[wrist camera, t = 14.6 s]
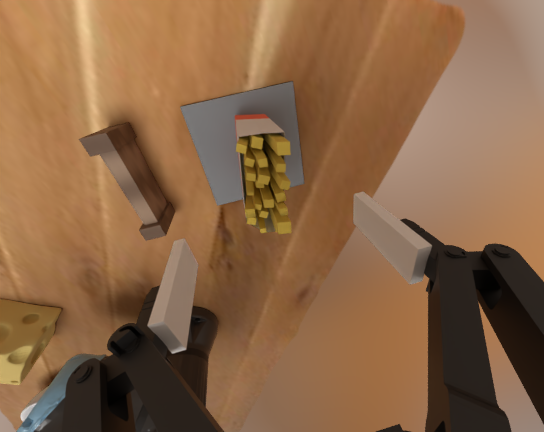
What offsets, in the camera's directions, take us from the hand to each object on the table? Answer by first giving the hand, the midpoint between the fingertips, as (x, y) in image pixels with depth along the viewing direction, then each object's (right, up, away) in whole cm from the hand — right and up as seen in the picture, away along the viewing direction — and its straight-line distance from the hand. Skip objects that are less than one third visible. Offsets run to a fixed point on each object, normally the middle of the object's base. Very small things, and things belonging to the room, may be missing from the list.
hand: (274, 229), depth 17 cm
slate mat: (-4, +12, +18) cm, 22 cm away
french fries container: (-4, +12, +18) cm, 22 cm away
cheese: (-51, -20, +29) cm, 62 cm away
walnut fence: (-20, +8, +18) cm, 28 cm away
